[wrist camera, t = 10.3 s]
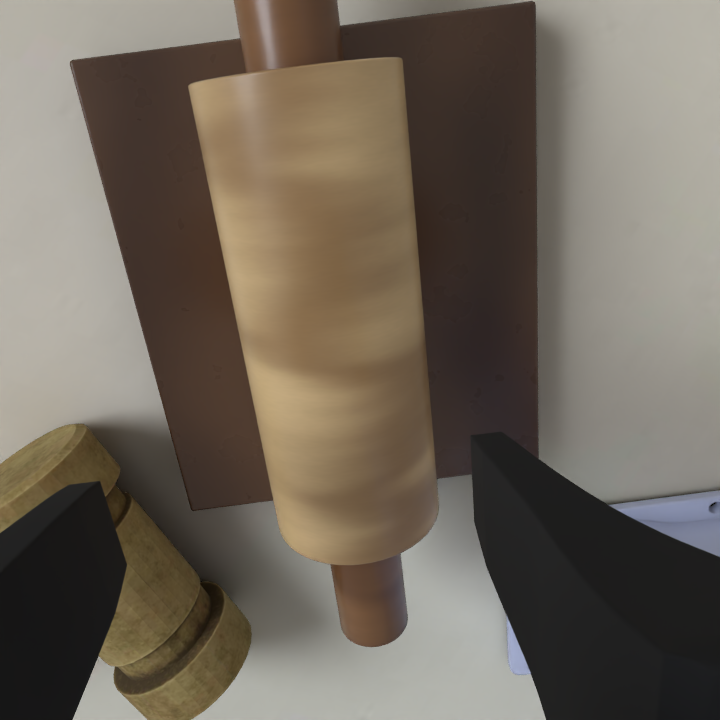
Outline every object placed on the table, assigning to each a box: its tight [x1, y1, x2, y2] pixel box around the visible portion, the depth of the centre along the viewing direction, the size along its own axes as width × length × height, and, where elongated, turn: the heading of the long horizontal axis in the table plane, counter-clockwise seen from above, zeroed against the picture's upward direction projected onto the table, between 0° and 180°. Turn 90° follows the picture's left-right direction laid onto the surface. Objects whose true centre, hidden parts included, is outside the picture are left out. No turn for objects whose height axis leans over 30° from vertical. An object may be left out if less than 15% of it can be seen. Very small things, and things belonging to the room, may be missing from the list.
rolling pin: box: [188, 0, 439, 647], centre depth 16 cm, size 5×21×5 cm, turn 7°
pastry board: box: [70, 1, 539, 511], centre depth 19 cm, size 12×14×2 cm
